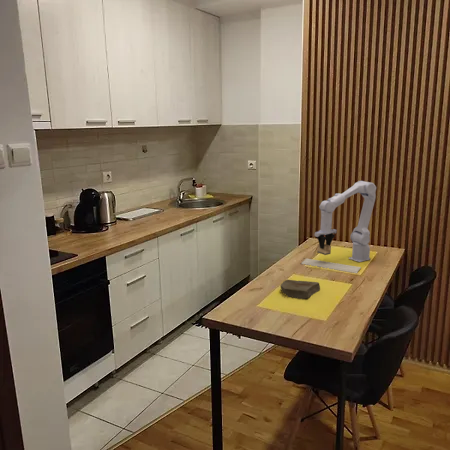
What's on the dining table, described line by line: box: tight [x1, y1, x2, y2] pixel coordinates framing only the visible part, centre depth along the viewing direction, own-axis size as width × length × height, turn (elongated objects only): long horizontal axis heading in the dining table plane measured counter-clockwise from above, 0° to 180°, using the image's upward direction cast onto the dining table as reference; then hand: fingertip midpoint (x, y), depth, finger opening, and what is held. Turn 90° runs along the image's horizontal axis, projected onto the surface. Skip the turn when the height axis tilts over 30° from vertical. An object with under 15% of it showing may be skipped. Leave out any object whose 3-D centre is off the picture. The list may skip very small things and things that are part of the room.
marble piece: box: [280, 279, 321, 300], centre depth 192 cm, size 17×15×4 cm
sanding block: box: [316, 243, 332, 256], centre depth 230 cm, size 4×6×4 cm, turn 33°
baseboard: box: [300, 256, 362, 274], centre depth 227 cm, size 30×3×10 cm
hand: (324, 247), depth 230 cm, fingers closed on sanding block, 4 cm apart
